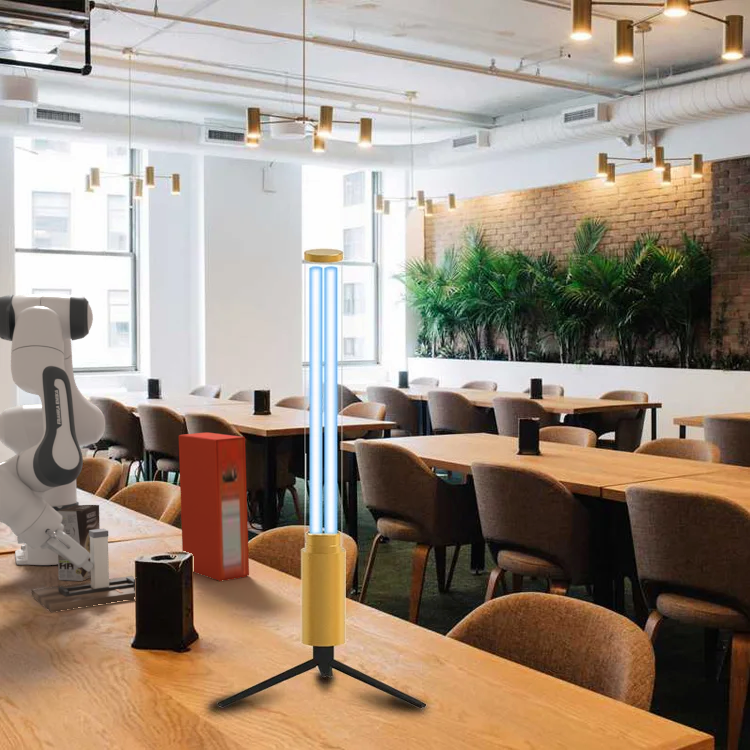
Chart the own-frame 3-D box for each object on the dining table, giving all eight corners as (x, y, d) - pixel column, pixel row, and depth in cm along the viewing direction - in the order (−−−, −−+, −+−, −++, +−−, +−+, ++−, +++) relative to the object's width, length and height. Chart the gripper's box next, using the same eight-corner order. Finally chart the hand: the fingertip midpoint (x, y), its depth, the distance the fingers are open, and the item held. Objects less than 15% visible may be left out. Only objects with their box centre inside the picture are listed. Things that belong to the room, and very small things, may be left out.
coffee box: (83, 581, 237) (81, 510, 237) (57, 580, 239) (55, 510, 238) (102, 572, 246) (100, 504, 246) (76, 571, 247) (75, 503, 247)
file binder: (218, 581, 234) (214, 439, 233) (181, 569, 248) (178, 434, 247) (249, 576, 239) (246, 436, 238) (212, 564, 253) (208, 432, 252)
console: (31, 596, 224) (31, 580, 224) (132, 582, 235) (131, 566, 235) (51, 612, 210) (50, 595, 210) (156, 596, 222) (156, 580, 222)
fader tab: (90, 586, 224) (88, 530, 224) (105, 584, 226) (103, 528, 225) (94, 589, 221) (93, 532, 221) (109, 587, 223) (108, 530, 223)
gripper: (65, 522, 209) (114, 564, 215) (39, 508, 227) (86, 548, 232) (42, 547, 207) (93, 589, 212) (19, 531, 224) (66, 570, 230)
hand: (89, 567), depth 222 cm, fingers closed, pressing on fader tab
